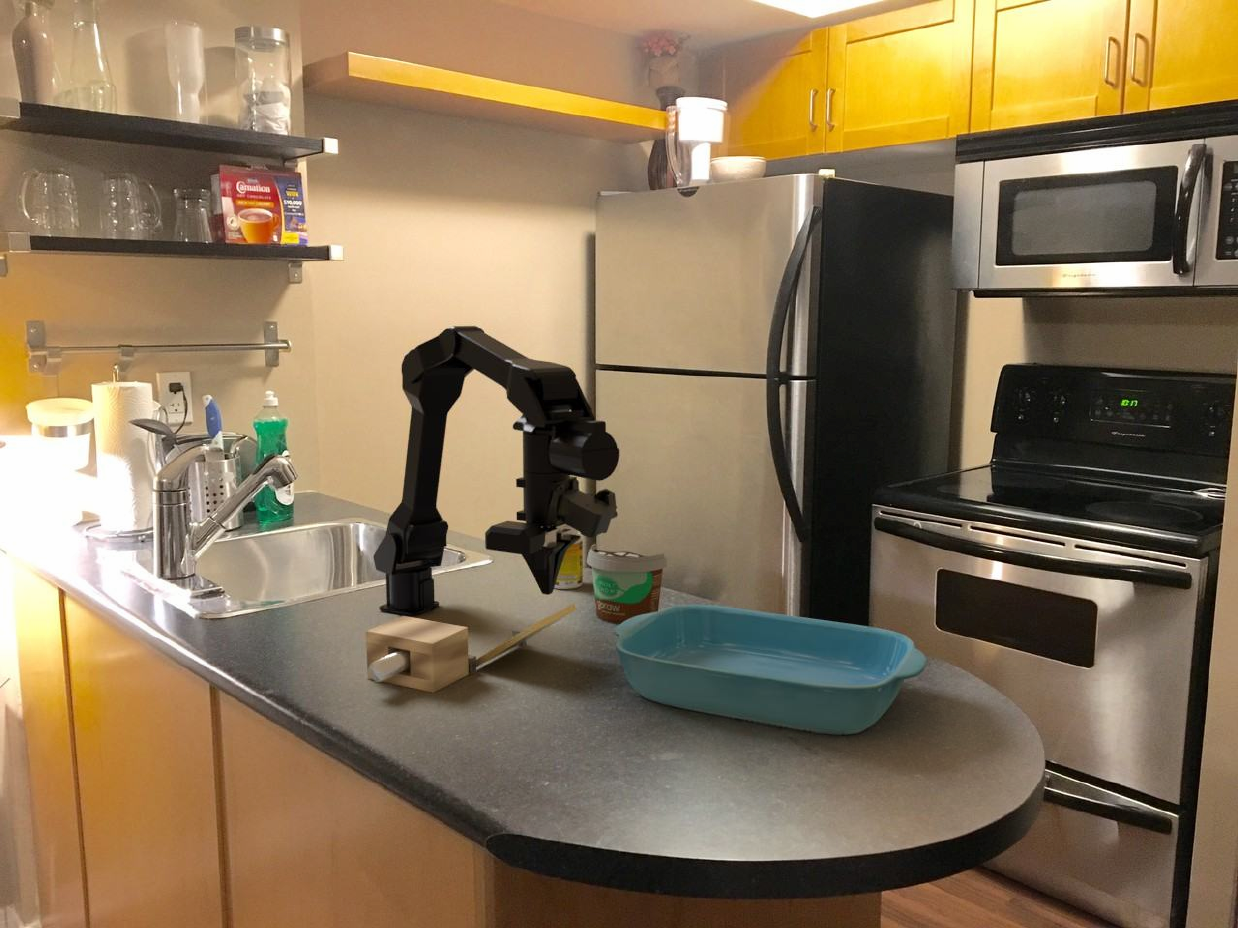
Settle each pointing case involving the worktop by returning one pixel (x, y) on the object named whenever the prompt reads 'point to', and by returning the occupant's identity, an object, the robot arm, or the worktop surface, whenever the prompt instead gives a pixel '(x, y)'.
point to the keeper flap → (525, 635)
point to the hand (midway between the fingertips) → (547, 593)
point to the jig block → (421, 651)
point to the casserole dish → (767, 666)
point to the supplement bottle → (571, 565)
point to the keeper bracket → (473, 658)
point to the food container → (625, 583)
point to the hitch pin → (390, 665)
